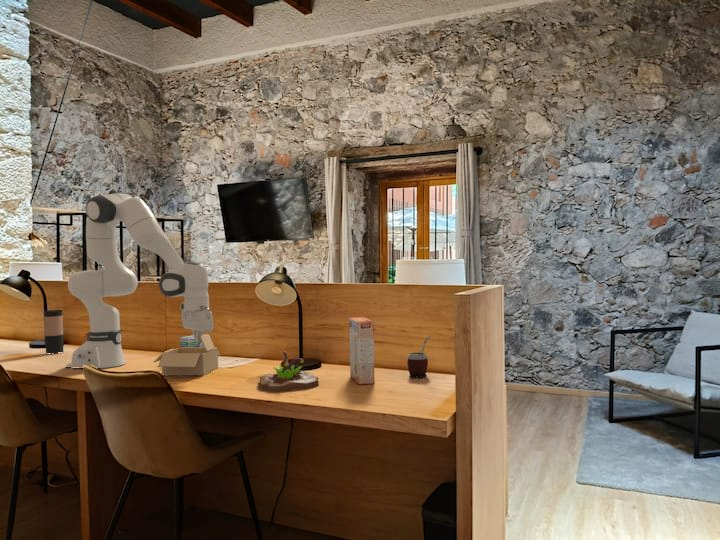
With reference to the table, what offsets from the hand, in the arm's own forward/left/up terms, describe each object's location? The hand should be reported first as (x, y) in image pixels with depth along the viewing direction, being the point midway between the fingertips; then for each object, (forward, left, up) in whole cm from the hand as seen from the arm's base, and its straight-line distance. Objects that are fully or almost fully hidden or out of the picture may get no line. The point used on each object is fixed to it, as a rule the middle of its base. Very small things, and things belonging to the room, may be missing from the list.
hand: (198, 342), depth 210 cm
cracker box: (+64, -12, -12) cm, 66 cm away
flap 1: (-3, -7, -3) cm, 8 cm away
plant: (+39, -18, -12) cm, 45 cm away
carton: (-6, +3, -11) cm, 13 cm away
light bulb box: (-10, +20, -12) cm, 26 cm away
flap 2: (+5, 0, -3) cm, 6 cm away
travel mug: (-89, +40, -12) cm, 99 cm away
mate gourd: (+83, -6, -12) cm, 84 cm away
